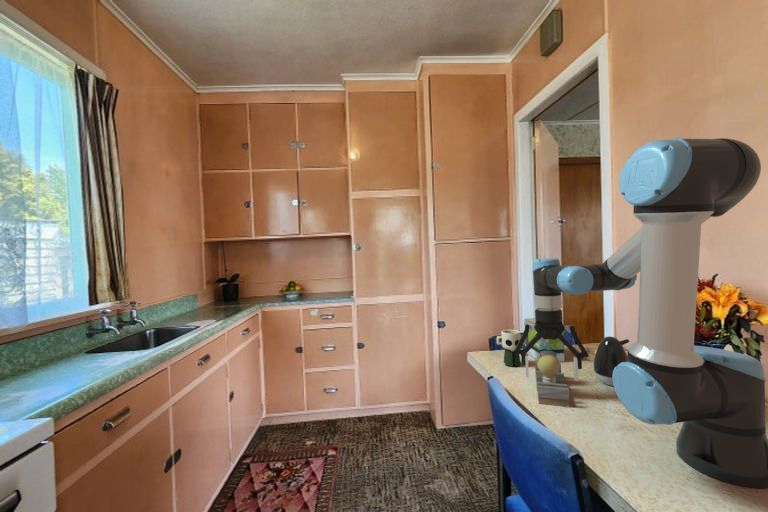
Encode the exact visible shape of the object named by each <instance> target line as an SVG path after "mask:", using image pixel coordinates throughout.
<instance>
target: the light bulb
mask: <svg viewBox="0 0 768 512" xmlns="http://www.w3.org/2000/svg"><path fill="white" fill-rule="evenodd" d="M536 362H537V366H538V369H539V370H540V372H541V373H542V374H543V376H542V378H543V379H542V381H543V382H544V383H555V384H556V377H555V375H556V374H557V373H558V371H559V369H560V364H561V362H559V360H558V359H557V357H555V356H553V355H551V354H543V355H541V356H540V357H539V358H538V360H537V361H536Z"/></svg>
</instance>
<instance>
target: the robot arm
mask: <svg viewBox="0 0 768 512" xmlns="http://www.w3.org/2000/svg"><path fill="white" fill-rule="evenodd" d="M761 172H762V165H761V159H760V157H759V155H758V153H757V152H756V150H755V149H754V148H752V147H751V146H750V145H749V144H748V143H745V142H743V141H741V140H738V139H734V138H725V137H723V138H721V137H720V138H719V137H718V138H679V137H677V138H675V137H674V138H668V139H661V140H654V141H650V142H647V143H645V144H643V145H642V146H640V147H639V148H637V149H636V150H635V151H634V152H633V153H632V155H631V156H630V157H628V158H627V160H626V162H624V165H623V167H622V169H621V172H620V175H619V191H620V194H621V195H622V196H623V199H624V200H625V201H626V202H627V203H629V204H630V205H632V206H633V209H632V211H633V212H632V213H633V214H632V215H633V216H634V217H635V218H636V219H638V220H639V222H640V223H641V224H642V226H641V227H640V228H639V229H638V230H637V231H636V232H635V233H634V234H633V235H632V236H631V237H629V239H627V240H626V241H625V242H624V243H623V244H622V245H621V246H619V248H618V249H617V250H615V252H614V253H612V254H611V255H610V256H609V257H608V258H607V259H605V261H603V262H602V263H596V264H594V263H593V264H583V265H582V264H581V265H580V264H578V265H561V262H560V260H559V259H558V258H557V257H555V258H554V257H551V258H535V259H534V260H533V262H532V263H533V265H532V267H533V268H532V276H533V278H532V279H533V292H534V295H533V296H534V307H535V310H534V315H535V316H534V317H535V325H532V324H528V323H526V324H524V330H523V332H522V334H521V338H520V340H519V342H518V344H517V346H516V348H515V353H518V354H519V356H520V362H521V366H524V367H525V377H526V378H529V377H530V375H529V374H530V373H529V371H530V370H529V356H528V355H529V354H528V353H527V352H528V351H529V350H530V349H531V348H532V347H533V346H534V345H535V344H536V342H537V341H539V340H540V339H541V338H543V339H552V340H555V339H557V338H559V339H560V340H561V341H562V342H563V343H564V346H565V347H566V348H567V349H568V350H569V351H570V352H571V353H572V354H573V355H574V356H573V358H572V359H573V379H574V380H575V381H574V382H579V370H582V368H583V365H582V364H583V363H582V361H583V359H584V358H583V357H588V356H589V355H588V354H589V353H588V352H587V351H586V350H585V348H584V347H585V346H584V344H583V343H582V341H581V340H580V338H579V336H578V335H577V333H576V328H575V326H574V324H572V323H571V324H568V325H564V323H563V310H562V309H561V308H563V305H562V304H563V303H562V293H564V294H569V295H585V294H587V293H591V292H600V291H601V292H602V291H603V292H604V291H606V292H607V291H621V290H627V289H630V288H632V287H633V286H634V285H635V284H636V280H637V278H638V276H637V275H638V274H639V293H638V294H639V296H638V315H637V317H638V319H637V337H636V338H637V340H636V341H635V342H633V343H631V344H630V345H628V347H627V362H622V363H620V364H618V366H616V367H615V368H614V370H613V375H612V379H613V385H614V386H613V388H614V391H615V393H616V396H617V397H618V399H619V400H620V402H621V404H622V405H623V407H624V408H625V409H626V410H627V411H628V413H629V414H631V415H632V416H633V417H634V418H636V419H637V420H640V422H643V423H645V424H648V425H654V426H655V425H667V426H670V425H671V426H672V425H674V424H677V423H683V424H682V425H681V428H680V430H679V433H678V435H677V437H676V443H675V445H676V449H675V450H676V454H677V455H678V457H679V458H680V459H681V460H682V462H684V463H686V464H687V465H688V466H690V467H691V468H693V469H695V470H696V471H698V472H701V473H702V474H705V475H707V476H709V477H711V478H713V479H717V480H720V481H723V482H726V483H730V484H733V485H737V486H743V487H748V488H757V489H758V488H759V489H766V488H767V489H768V437H767V432H766V430H767V429H766V427H767V426H766V424H767V423H766V421H767V420H766V391H765V390H766V388H765V387H766V385H765V384H766V383H765V382H766V381H767V379H766V378H765V373H764V371H765V370H764V365H763V364H762V363H761V362H760V360H758V359H757V358H755V357H754V356H751V355H747V354H743V353H741V352H735V351H732V350H726V349H722V348H716V347H711V346H703V345H702V346H701V345H695V333H696V332H695V331H696V313H697V302H698V300H697V299H698V286H699V285H698V283H699V271H700V269H699V268H700V267H699V266H700V252H701V250H700V249H701V235H702V225H703V224H704V223H705V222H707V221H708V220H709V219H710V218H719V217H722V216H723V215H725V214H726V213H727V212H728V211H730V210H731V209H733V208H734V207H735V206H736V205H737V204H739V203H740V202H741V201H742V200H744V199H745V198H746V197H747V196H748V195H749V193H751V191H752V190H753V189H754V187H755V186H756V184H757V183H758V181H759V178H760V176H761ZM532 329H535V330H536V331H537V334H536V335H535V336H534V337H533V338H532V339H531V341H530V342H529V343H528V344H527V345H526V346H525V345H524V344H523V343H524V341H525V339H526V337H527V335H528V333H529V331H531V330H532ZM565 330H566V331H567V333H570V334H571V336H572V338H573V340H574V341H575V343H576V345H577V346H578V348H580V350H581V351H582V352H580V353H579V352H578V351H577V348H575V346H574V345H572V344H571V343H570V341H568V339H567V338H566V337H565V335H564V336H563V335H562V332H563V331H564V332H565ZM523 345H524V347H523ZM522 347H523V348H522Z"/></svg>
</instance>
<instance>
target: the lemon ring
mask: <svg viewBox="0 0 768 512" xmlns="http://www.w3.org/2000/svg"><path fill="white" fill-rule="evenodd" d="M584 348H585V350H586V351H587V353H588V352H593V353H595V351H596V350H597V348H598V346H591V345H589V346H588V345H586V346H584ZM576 350H577V351H578V352H579V353H580V352H582V351H581V350H580V348H579V347H577V348H576ZM588 355H589V356H588V357H583V358H582V359H584V360H587V361H591V362H594V359H595V354H590V353H588Z"/></svg>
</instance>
